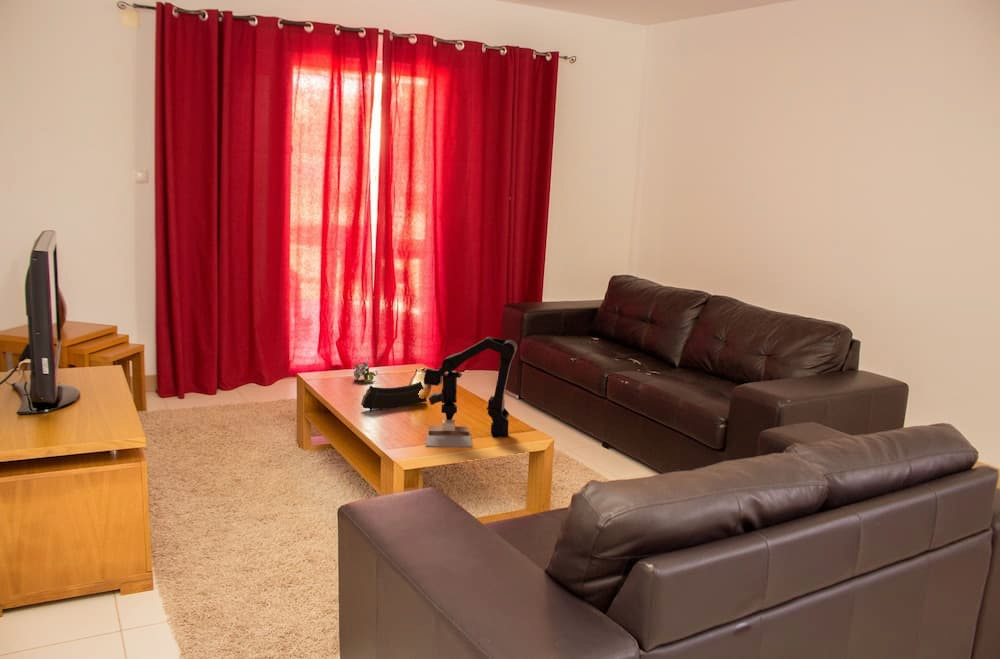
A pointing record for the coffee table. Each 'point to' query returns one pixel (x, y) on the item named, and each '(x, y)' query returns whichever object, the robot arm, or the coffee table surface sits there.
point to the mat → (448, 441)
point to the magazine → (392, 397)
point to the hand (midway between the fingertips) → (448, 423)
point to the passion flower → (363, 372)
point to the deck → (438, 431)
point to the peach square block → (448, 425)
